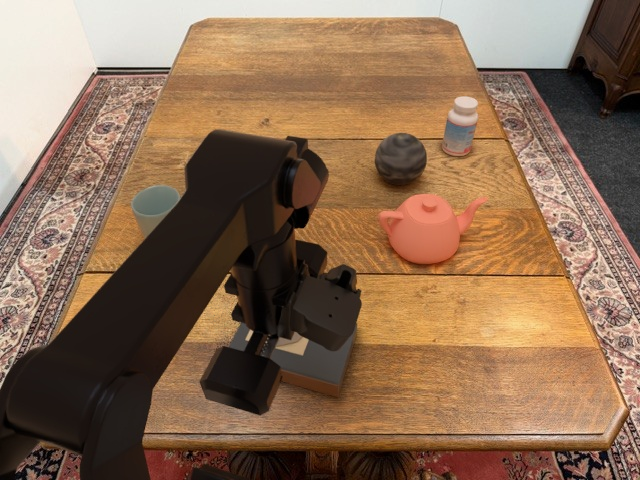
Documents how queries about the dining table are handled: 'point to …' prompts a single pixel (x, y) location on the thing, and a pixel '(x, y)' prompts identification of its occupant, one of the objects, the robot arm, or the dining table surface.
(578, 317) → the dining table surface
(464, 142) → the pill bottle
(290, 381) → the grey and beige box
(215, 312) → the dining table surface
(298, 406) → the dining table surface
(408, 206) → the teapot
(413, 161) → the decorative stone
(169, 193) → the cup
